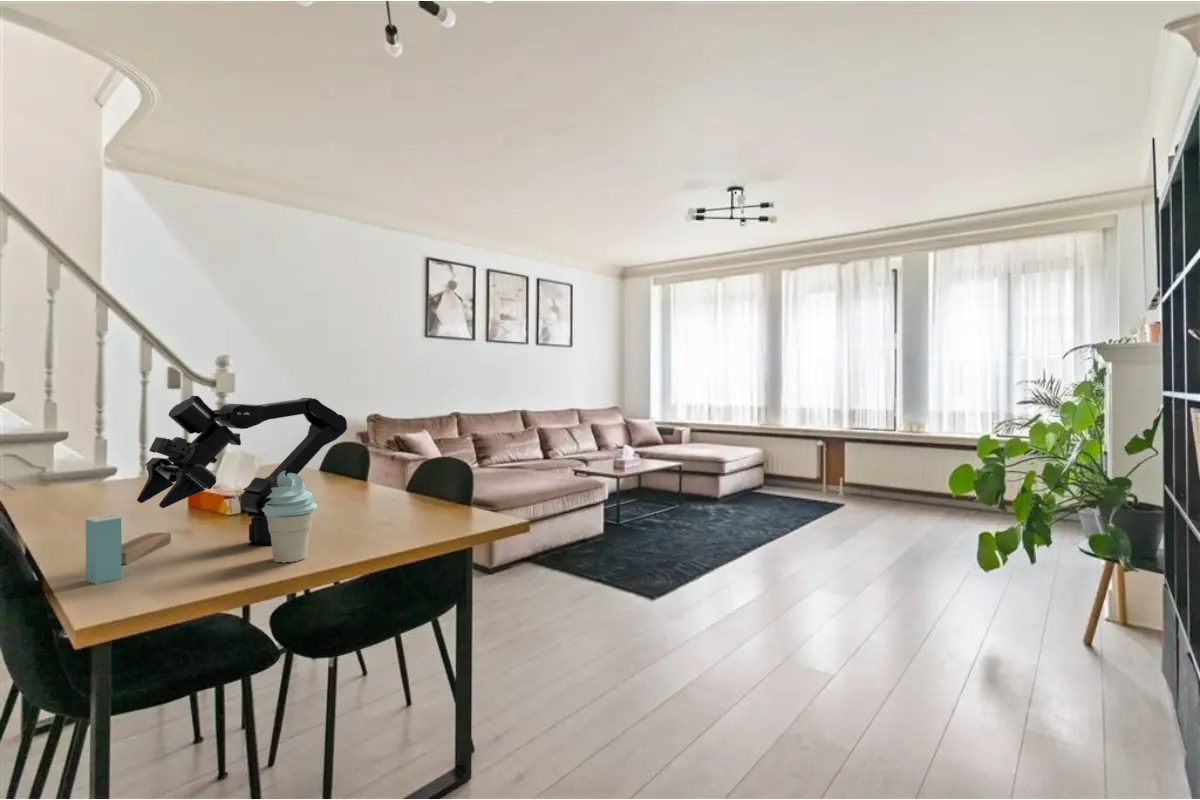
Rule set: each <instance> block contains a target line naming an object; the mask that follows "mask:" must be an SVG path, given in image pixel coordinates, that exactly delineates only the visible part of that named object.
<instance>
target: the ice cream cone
mask: <svg viewBox="0 0 1200 800" xmlns="http://www.w3.org/2000/svg"><path fill="white" fill-rule="evenodd" d="M285 472H286V471H283V472H281V473H280V474H279V475H278V477H277V484H278V487H275V488H271V489H272V493H271V494H270V495H269V496H268V497H267V498H271V499H272V500H270V501H269V502H267V503H266V504H265V507H264V508H262V511H263V512H264V513H265V516H267V521H268V529H269V533H270V536H271V543H272V545H271V550H272V557H273V561H274V562H275V563H278V562H282V563H281V564H283V563H284V564H287V563H286V562H290V563H296V562H300V561H303V560H304V559H306V558H307V554H308V548H309V546H308V545H309V541H310V540H309V539H310V531H311V529H312V525H313V517H314V516H313V515H314V513H313V512H314V509H315V508H317V507H318V504H317V503H315V502H314V501H315V497H314V496H313V493H312V492H311V491H309V490H306V485H305V483H304V481H303V478H302V477H301V476H300V475H299V474H294V473H288V474H287V477H286V476H285ZM302 559H303V560H302ZM299 560H300V561H299ZM295 561H296V562H295Z"/></svg>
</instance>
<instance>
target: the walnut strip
mask: <svg viewBox="0 0 1200 800" xmlns="http://www.w3.org/2000/svg"><path fill="white" fill-rule="evenodd" d="M171 542H172V533H171V532H147V533H144V534H142V535H140V536H138V537H136V538H133V539H131V540H128V541H126V542H124V543H121V564H127V565H128V563H129V562H131V563H132V561H133V562H134V560H135V561H137V560H139V559H141V558H142V556H143V557H145V556H147V555H149V554H151V553H153V552H154V550H155V551H156V549H157V550H159V549H160V547H161V548H163V547H165V546H167V545H169V544H171ZM168 543H169V544H168ZM166 544H167V545H166ZM164 545H165V546H164ZM162 546H163V547H162ZM158 548H159V549H158ZM152 551H153V552H152ZM150 552H151V553H150ZM148 553H149V554H148ZM146 554H147V555H146ZM144 555H145V556H144ZM140 557H141V558H140ZM138 558H139V559H138ZM136 559H137V560H136ZM129 564H130V563H129Z"/></svg>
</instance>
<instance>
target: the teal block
mask: <svg viewBox="0 0 1200 800" xmlns="http://www.w3.org/2000/svg"><path fill="white" fill-rule="evenodd" d="M121 544H122V516H121V515H117V514H113V513H109V514H103V515H102V514H101V515H95V516H90V517H89V516H88V517H85V581H86V582H88V581H89V582H88V583H90V582H91V584H93V583H94V584H93V585H100V584H99V583H101V584H103V583H102V582H105V583H107V582H106V581H109V582H111V581H110V580H114V581H116V580H115V579H118V580H121V579H120V578H122V570H123V569H122V565H121Z"/></svg>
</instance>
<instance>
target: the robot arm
mask: <svg viewBox="0 0 1200 800" xmlns="http://www.w3.org/2000/svg"><path fill="white" fill-rule="evenodd" d="M299 415H303V416H304V418H305V419H306V421H307V422H308V423H310V425H309V428H308V432H307V435H306V436H305V438H304V439H303V440H302V441H301V442H300V443H299V444H297V446H296V447H295V448H294V449H293V450H292V451H291V452H290V453H289V455H288V456H286V458H285V459H284V460H283V461H282V462H281V463H280V464H279V465H278V466H277V467H276V468H275V469H274V470H273V471H272V472H271V473H270V474H269V475H268V476H266V477H264V478H262V477H254V478H253V479H252V480H251V482H250V483H249V485H247V486H246V487H244V488H243V489H242V490H243V492H242V494H241V496H240V505H241V508H242V509H243V510H245V512H246V515H247V517H249V518H251V520H250V524H249V525H248V541H249V542H248V543H247V545H248V546H272V543H271V536H270V533H269V529H268V521H267V516H265V513H264V512H263V511H262V508H264V507H265V504H266V503H267V502H269V501H270V500H272V499H271V498H267V497H268V496H269V495H270V494H271V493H272V489H271V488H275V487H278V484H277V477H278V475H279V474H280V473H281V472H283V471H286V472H285V476H286V477H287V474H288V473H294V474H297V475H299V473H300V472H302V470H303V469H304V468H305V467H306V466H307V464H309V463H310V462H311V460H312V459H313V458H314V457H315V456H316V455H317V453H319V451H321V449H323V447H324V446H326V445H328V444H330V443H331V442H334V441H336V440H337V439H339V438H340V437H341V436H342V435H344V434H345V433H346V431H347V429H348V423H347V419H346V417H345V416H344V415H343V414H338V413H337V412H336V411H335V410H333V409H332V408H329V407H328V406H326V405H325V404H323V403H322V402H320V400H318V399H317V398H315V397H301V398H299V399H292V400H285V401H276V402H269V403H263V404H251V403H250V404H248V403H244V404H243V403H227V404H223V405H222V406H221V408H220V409H212V408H211V407H209V405H207V404H206V403H205V402H204V400H203V399H202V398H201V397H200V396H198V395H191V396H190V397H189V398H188V399H185V400H182V401H181V402H179V403H178V404H176V405H174V406H173V407H172V408H171V409H170V411H169V412H168V417H169V418H171V420H173V421H174V422H175V423H176V424H177V425H178V426H180V428H182V429H183V430H184V431H185V432H186V433H188V434H190V435H191V434H199V435H197V436H196V437H195V438H194V439H193V440H192V441H191V442H189V441H188V440H187V439H186V438H183V437H179V436H175V437H174V438H173V439H170V438H166V437H159V436H156V437H155V438H154V440H153V442H152V444H151V446H150V448H149V450H148V452H151V453H154V454H155V453H156V454H157V453H158V454H160V455H164V456H166V458H165V457H159V456H158V457H152V458H150V460H149V461H147V462H146V463H145V466H146V471H147V473H148V478H147V480H146V482H145V484H144V486H143V488H142V490H141V491H140V493H139V495H138V497H137V499H136V501H137V502H138V503H139V504H143V503H144V502H146V501H148V500H150V499H152V498H154V497H155V496H158V495H159V494H161V493H162V492H163V491H165V490H167V489H169V488H170V489H169V491H168V492H167V493H166V494H165V495H164V497H163V498H162V500H161V501H160V502H159V504H158V506H159V507H160V508H161V509H166V508H167V507H169V506H171V505H173V504H175V503H178V502H180V501H182V500H185V499H187V498H189V497H192V496H194V495H196V494H200V493H201V492H205V491H206V490H211V489H212V488H213V487H214V486H215V484H217V475H215V474H214V473H213V472H211V470H209V469H208V468H207V466H208V465H209V464H216V462H218V459H217V456H218V455H219V454H220V453H221V452H222V451H223V450H224V449H225V448H226V447H227V446H228V445H233V446H241V445H242V440H241V434H240V433H237V432H235V433H234V432H233V431H232V430H231V429H239V430H245V429H249V428H253V427H255V426H257V425H260V424H262V423H263V422H265V421H266V422H267V421H269V420H276V419H280V418H286V417H293V416H299ZM220 424H221V425H220Z"/></svg>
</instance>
